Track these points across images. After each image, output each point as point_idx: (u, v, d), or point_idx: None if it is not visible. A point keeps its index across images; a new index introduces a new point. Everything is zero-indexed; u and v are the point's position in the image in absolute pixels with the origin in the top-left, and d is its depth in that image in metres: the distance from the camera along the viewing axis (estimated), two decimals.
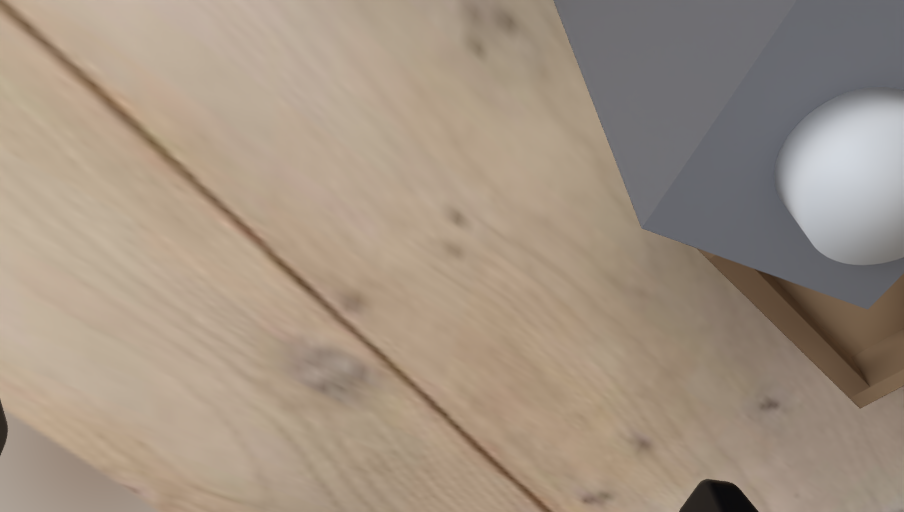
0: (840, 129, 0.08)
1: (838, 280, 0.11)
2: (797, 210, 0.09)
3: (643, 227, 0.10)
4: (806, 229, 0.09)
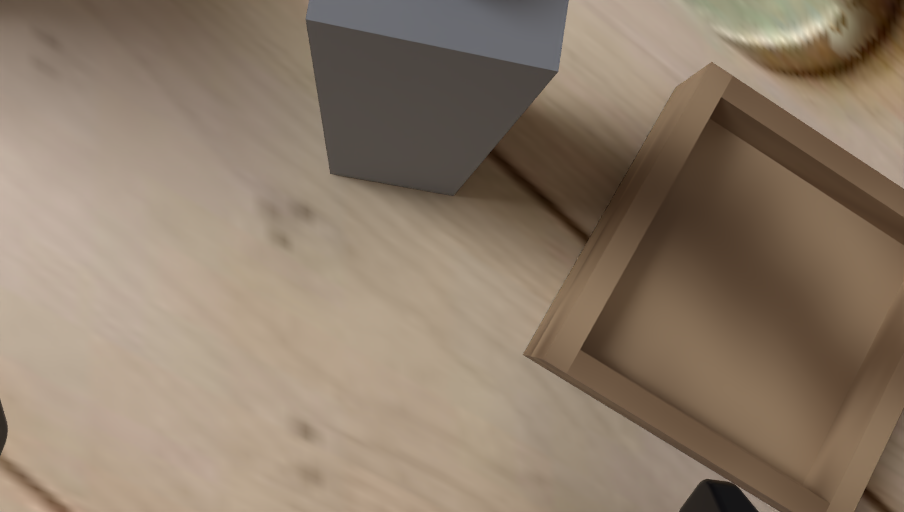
0: None
1: (512, 44, 0.11)
2: None
3: (306, 17, 0.11)
4: None
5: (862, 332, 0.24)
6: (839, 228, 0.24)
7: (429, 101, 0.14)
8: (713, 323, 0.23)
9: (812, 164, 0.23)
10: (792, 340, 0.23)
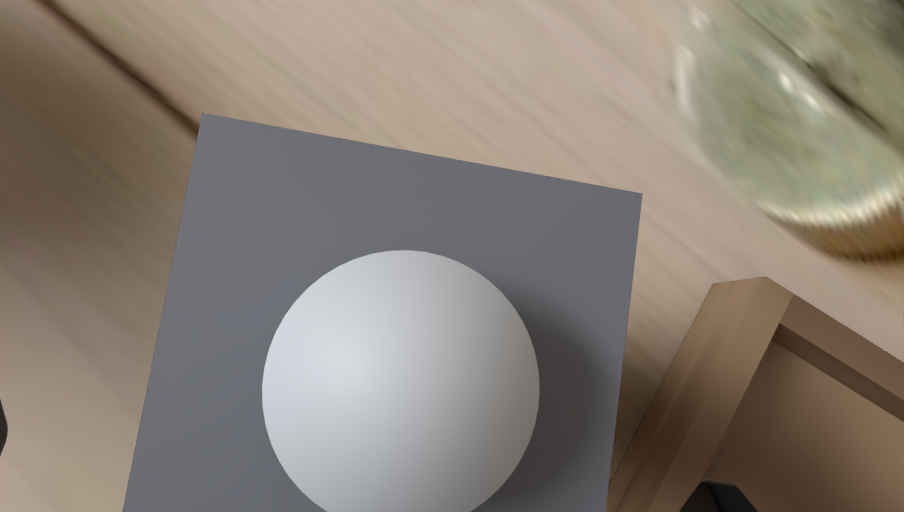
0: None
1: None
2: None
3: None
4: (293, 481, 0.05)
5: None
6: None
7: None
8: None
9: (896, 401, 0.17)
10: None
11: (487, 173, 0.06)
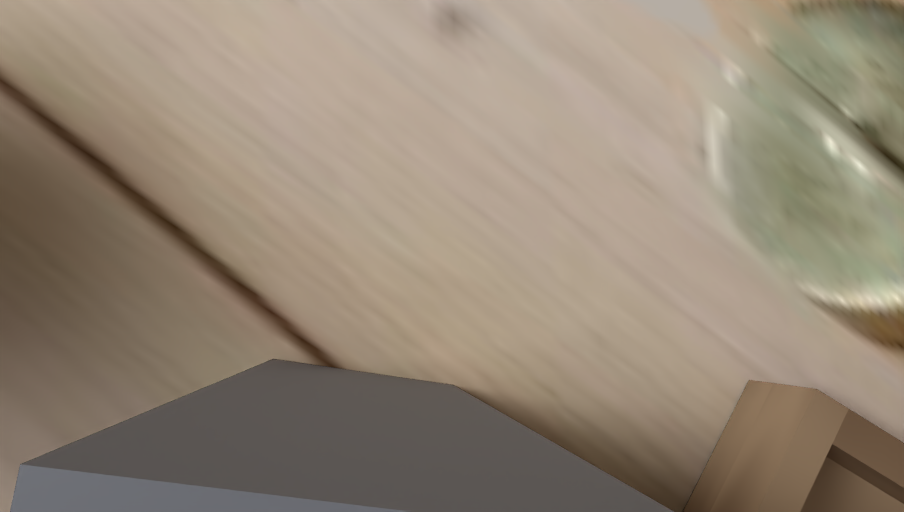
0: None
1: None
2: None
3: None
4: None
5: None
6: None
7: None
8: None
9: None
10: None
11: None
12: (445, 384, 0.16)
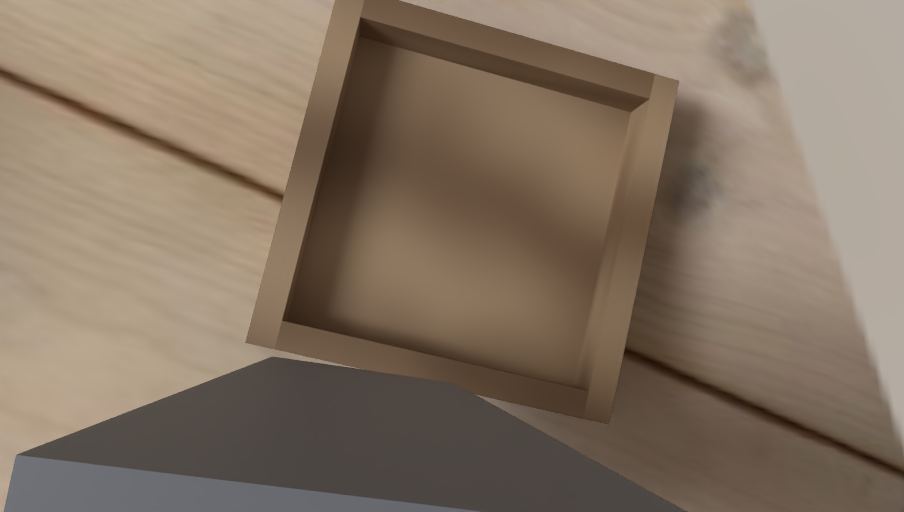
0: None
1: None
2: None
3: None
4: None
5: (595, 208, 0.23)
6: (543, 111, 0.23)
7: None
8: (437, 247, 0.22)
9: (482, 56, 0.21)
10: (524, 239, 0.22)
11: None
12: (445, 382, 0.16)
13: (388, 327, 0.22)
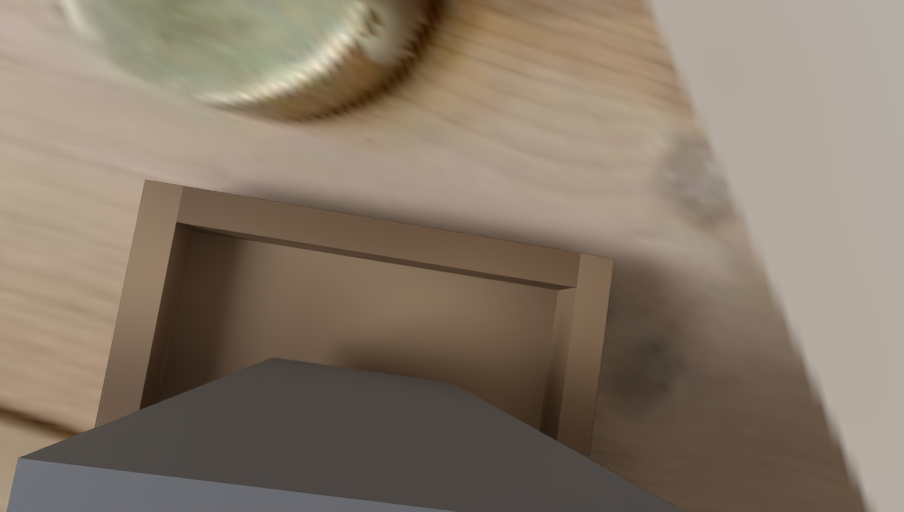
0: None
1: None
2: None
3: None
4: None
5: None
6: (443, 302, 0.17)
7: None
8: None
9: (350, 251, 0.16)
10: None
11: None
12: (445, 382, 0.16)
13: None
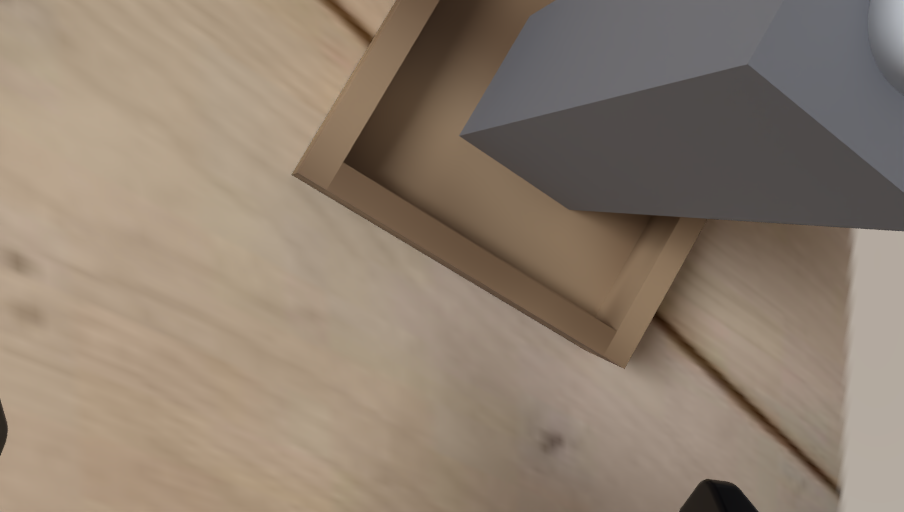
0: None
1: None
2: None
3: (749, 62, 0.08)
4: None
5: None
6: None
7: (728, 170, 0.12)
8: None
9: None
10: None
11: None
12: None
13: (436, 206, 0.20)
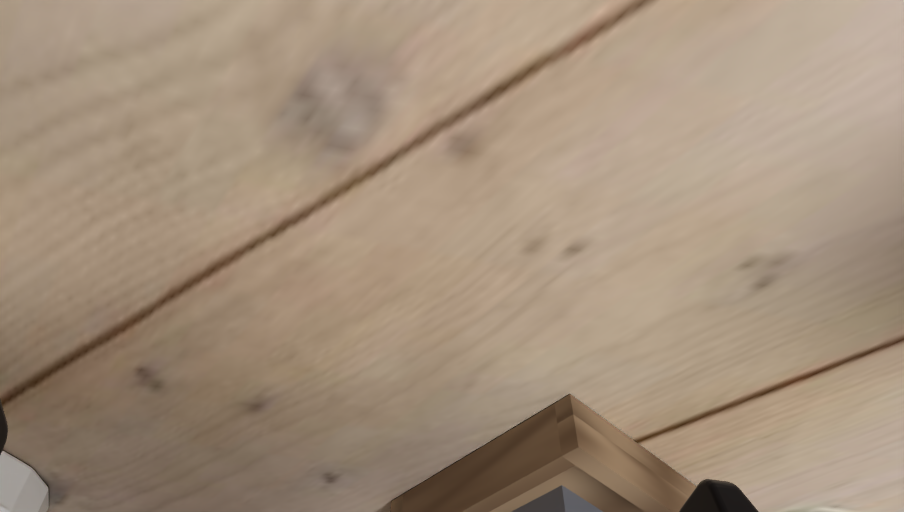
0: None
1: None
2: None
3: None
4: None
5: None
6: None
7: None
8: None
9: None
10: None
11: None
12: None
13: None
